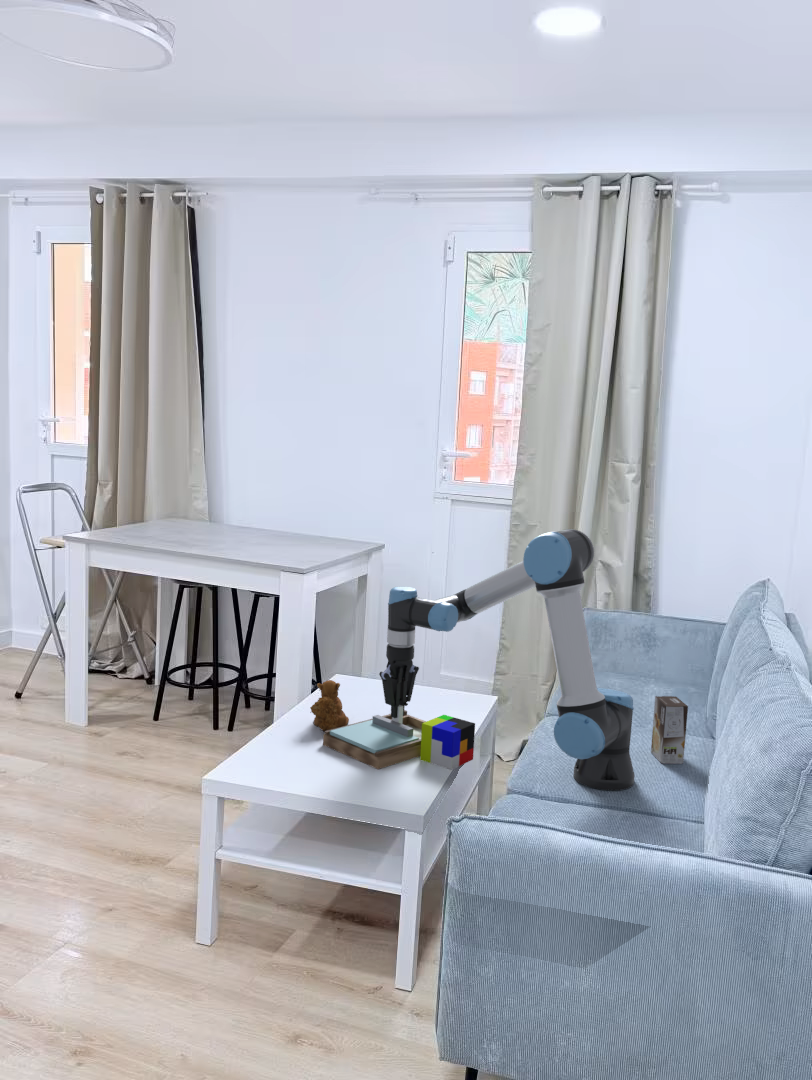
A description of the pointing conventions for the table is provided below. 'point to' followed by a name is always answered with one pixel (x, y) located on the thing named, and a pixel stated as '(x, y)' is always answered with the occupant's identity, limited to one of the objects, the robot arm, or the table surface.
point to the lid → (376, 734)
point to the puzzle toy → (447, 741)
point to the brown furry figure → (329, 707)
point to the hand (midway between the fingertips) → (396, 728)
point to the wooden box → (384, 756)
